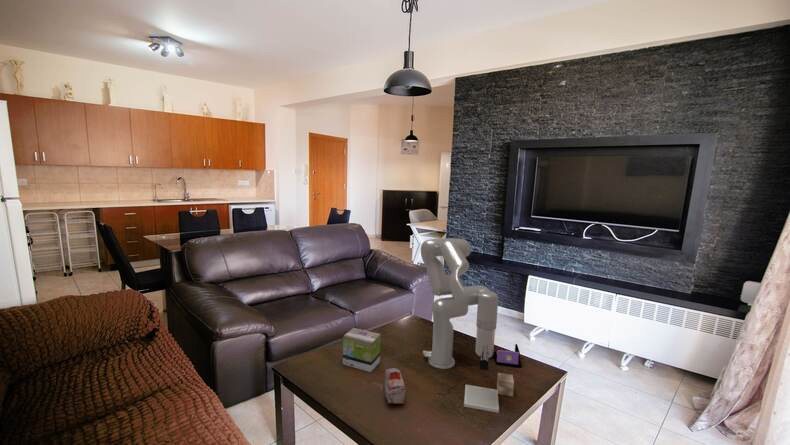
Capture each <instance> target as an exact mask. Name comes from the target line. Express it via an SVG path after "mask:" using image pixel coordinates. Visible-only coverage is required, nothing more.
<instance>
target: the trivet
mask: <svg viewBox="0 0 790 445" xmlns="http://www.w3.org/2000/svg"><path fill="white" fill-rule="evenodd" d="M464 386H465V388H464V399H463V407H466V408H470V409H476V410H481V411H487V412H492V413H497V414H499V413H500V406H499V405H500V404H499V394H498V391H497V389H494V388H488V387H483V386H482V387H481V386H477V385H476V386H475V385H471V384H465V385H464Z"/></svg>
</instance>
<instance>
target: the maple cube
mask: <svg viewBox="0 0 790 445" xmlns="http://www.w3.org/2000/svg"><path fill="white" fill-rule="evenodd" d="M496 380H497V382H496V390H497V391H498V395H502V396H508V397H514V388H515V380H514V375H513V374H509V373H501V372H498V373H497V378H496Z"/></svg>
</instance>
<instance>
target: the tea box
mask: <svg viewBox="0 0 790 445" xmlns="http://www.w3.org/2000/svg"><path fill="white" fill-rule="evenodd" d="M381 335H382V334H381V333H377V332H373V331H369V330H364V329H361V328H356V327H352V328H351V329H350V330H349V331H348V332H347V333H345V334H344V335H343V337H342V338H343V340H342V365H344V366H348V367H350V368H355V369H358V370H361V371H364V372H365V371H366V372H368V373H371V372H373V371H374V369H375V368H376V367H377V366H378V365H379V364H380V362H381V344H382V343H381V342H382V341H381V340H382V339H381V338H382V336H381Z"/></svg>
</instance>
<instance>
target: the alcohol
mask: <svg viewBox="0 0 790 445" xmlns="http://www.w3.org/2000/svg"><path fill="white" fill-rule="evenodd" d="M478 331H479V328H478V327H477V326H476V336H475V354H476V355H477V356H478V357H480V356H481V354H478V353H477V348H478ZM495 335H496V329H495V330H493V336H492V346H491V354H490V355H488V359H490V358H492V357H493V356H494V352H495V350H494V348H495Z"/></svg>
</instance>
